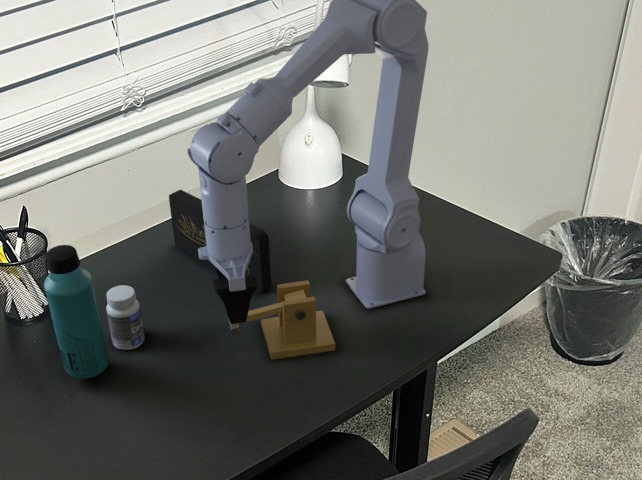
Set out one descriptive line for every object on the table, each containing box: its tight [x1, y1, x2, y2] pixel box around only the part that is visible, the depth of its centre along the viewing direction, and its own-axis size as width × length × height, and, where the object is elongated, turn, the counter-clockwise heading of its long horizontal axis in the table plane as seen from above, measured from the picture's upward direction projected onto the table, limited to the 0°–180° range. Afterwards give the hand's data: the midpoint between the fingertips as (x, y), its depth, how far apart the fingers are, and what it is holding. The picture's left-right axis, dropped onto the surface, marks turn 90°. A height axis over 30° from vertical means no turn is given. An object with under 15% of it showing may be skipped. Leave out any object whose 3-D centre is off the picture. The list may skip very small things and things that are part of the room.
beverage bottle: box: [43, 244, 110, 379], centre depth 121 cm, size 6×7×20 cm
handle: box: [227, 290, 306, 336], centre depth 126 cm, size 11×5×2 cm, turn 95°
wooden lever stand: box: [260, 279, 336, 360], centre depth 127 cm, size 9×8×8 cm
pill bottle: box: [105, 284, 146, 351], centre depth 129 cm, size 5×5×8 cm
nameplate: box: [168, 189, 272, 294], centre depth 142 cm, size 21×2×10 cm, turn 41°
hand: (234, 305), depth 124 cm, fingers open, 7 cm apart
